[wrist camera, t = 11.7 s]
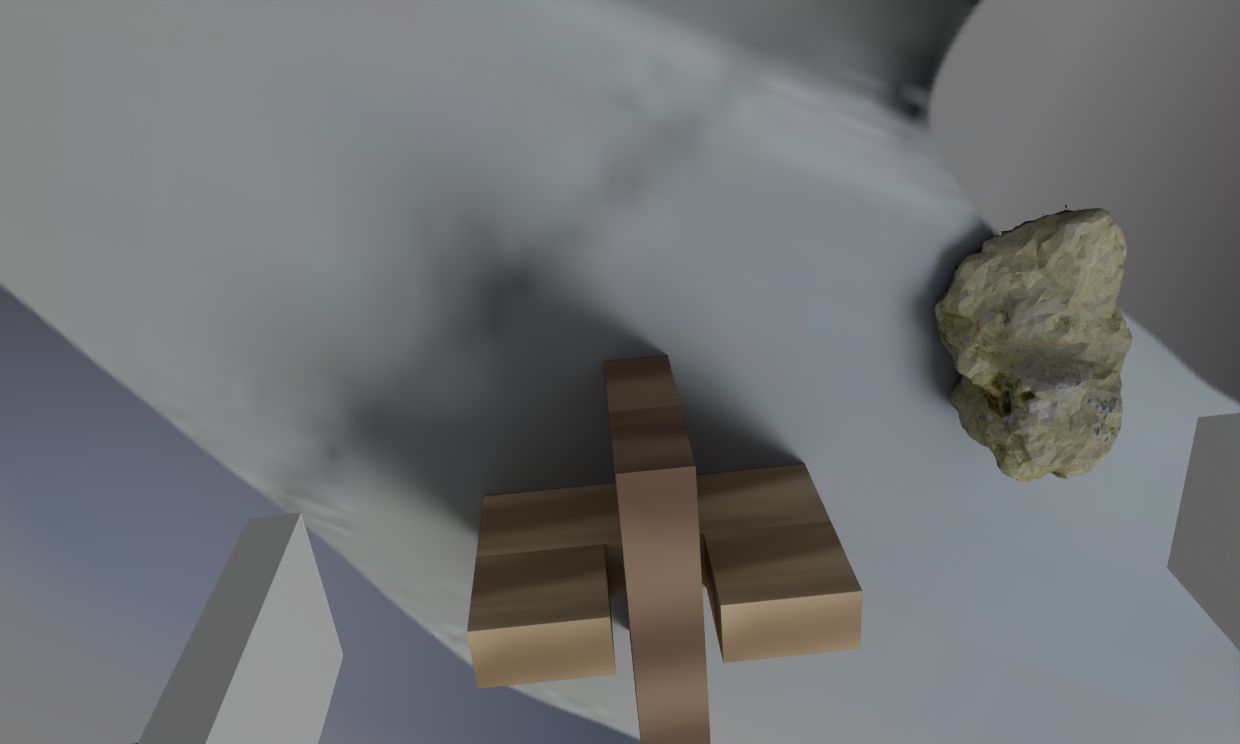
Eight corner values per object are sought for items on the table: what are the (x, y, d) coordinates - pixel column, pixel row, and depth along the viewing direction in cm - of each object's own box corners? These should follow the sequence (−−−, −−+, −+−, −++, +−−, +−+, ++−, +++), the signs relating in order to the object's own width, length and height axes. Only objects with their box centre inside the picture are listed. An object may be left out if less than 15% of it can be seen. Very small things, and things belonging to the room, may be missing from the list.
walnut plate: (603, 361, 45) (615, 474, 36) (667, 355, 45) (695, 465, 36) (629, 631, 52) (645, 781, 43) (685, 625, 52) (712, 774, 43)
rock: (1060, 170, 44) (878, 300, 45) (1160, 198, 38) (950, 346, 39) (1138, 346, 49) (972, 462, 49) (1238, 395, 43) (1049, 526, 43)
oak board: (483, 496, 48) (466, 631, 39) (804, 464, 48) (861, 590, 39) (491, 546, 49) (477, 688, 40) (804, 514, 50) (860, 648, 41)
